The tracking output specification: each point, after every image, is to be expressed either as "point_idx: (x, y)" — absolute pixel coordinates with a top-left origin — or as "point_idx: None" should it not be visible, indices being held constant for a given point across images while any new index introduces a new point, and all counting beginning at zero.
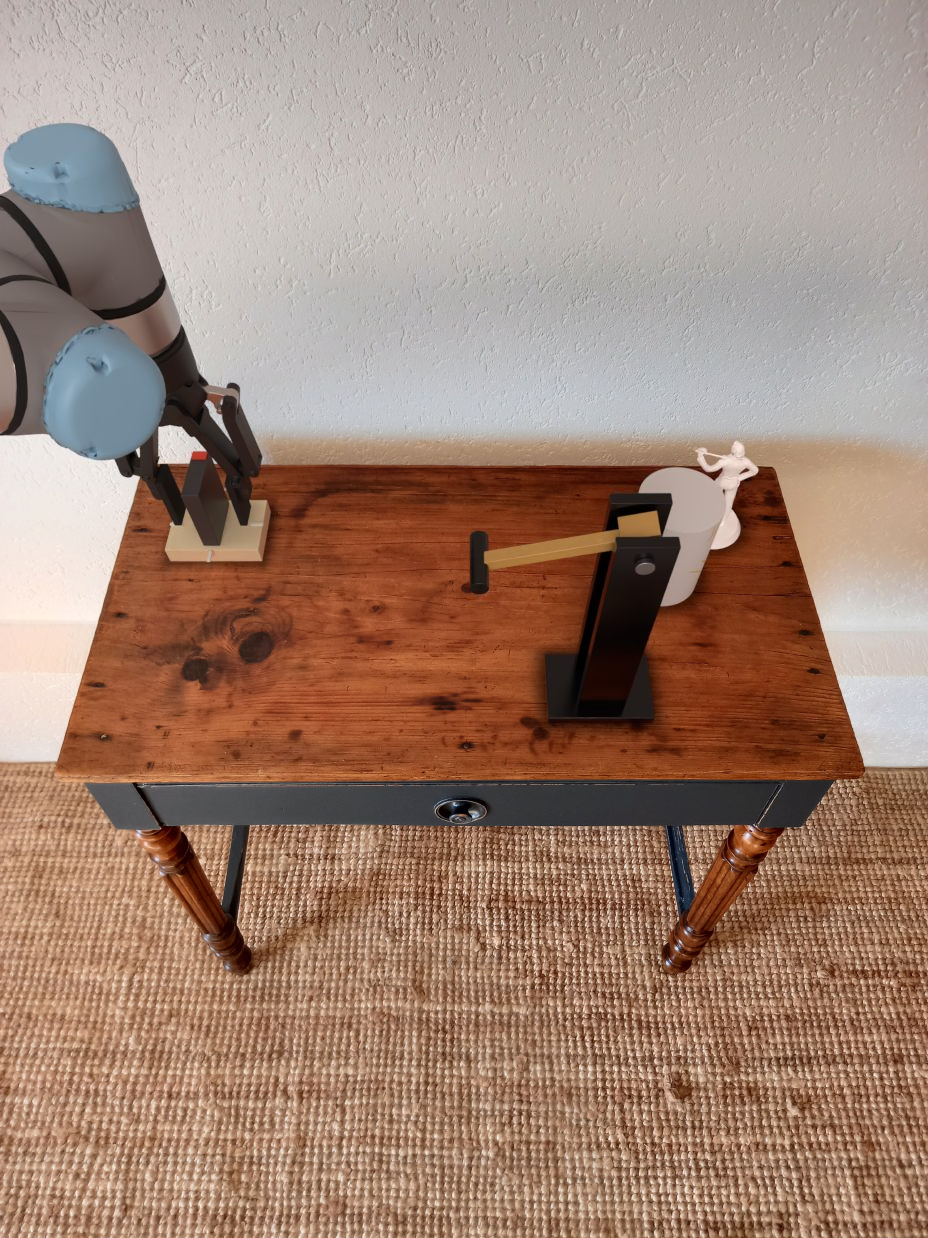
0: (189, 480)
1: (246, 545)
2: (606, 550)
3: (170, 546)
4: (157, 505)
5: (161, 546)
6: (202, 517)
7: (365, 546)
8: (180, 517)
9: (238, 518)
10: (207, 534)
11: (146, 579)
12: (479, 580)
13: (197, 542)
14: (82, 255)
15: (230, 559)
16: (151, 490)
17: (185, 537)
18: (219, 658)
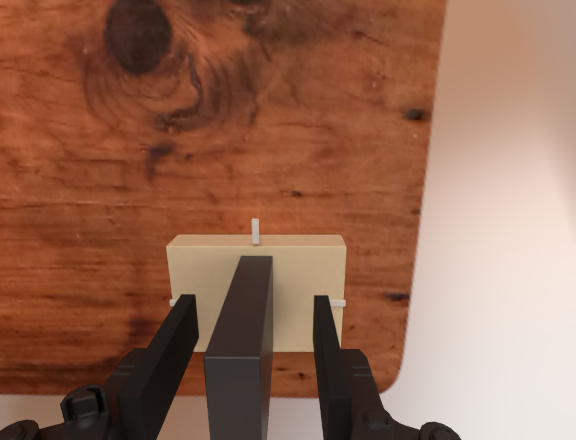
0: (246, 408)
1: (191, 256)
2: None
3: (336, 254)
4: (380, 343)
5: (361, 265)
6: (236, 300)
7: (7, 264)
8: (314, 311)
9: (187, 306)
10: (250, 270)
11: (378, 196)
12: None
13: (286, 263)
14: None
15: (231, 235)
16: (368, 374)
17: (311, 274)
18: (205, 6)
